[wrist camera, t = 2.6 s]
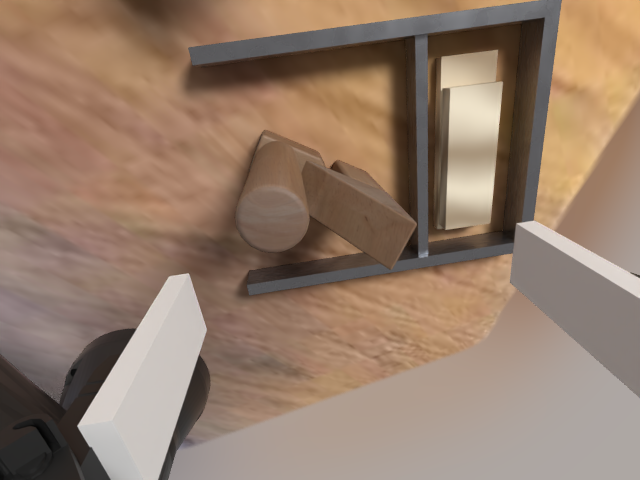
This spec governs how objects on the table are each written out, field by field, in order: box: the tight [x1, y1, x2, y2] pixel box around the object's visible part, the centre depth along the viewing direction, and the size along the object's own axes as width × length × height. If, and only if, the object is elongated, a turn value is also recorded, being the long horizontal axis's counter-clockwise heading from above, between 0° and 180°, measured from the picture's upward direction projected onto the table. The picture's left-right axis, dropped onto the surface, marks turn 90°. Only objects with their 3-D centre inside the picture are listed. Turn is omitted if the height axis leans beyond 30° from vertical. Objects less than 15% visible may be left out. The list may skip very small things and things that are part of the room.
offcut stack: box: [433, 50, 503, 230], centre depth 34 cm, size 16×5×3 cm, turn 7°
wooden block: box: [235, 130, 417, 270], centre depth 26 cm, size 4×11×18 cm, turn 67°
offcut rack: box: [188, 0, 562, 295], centre depth 33 cm, size 22×29×3 cm
